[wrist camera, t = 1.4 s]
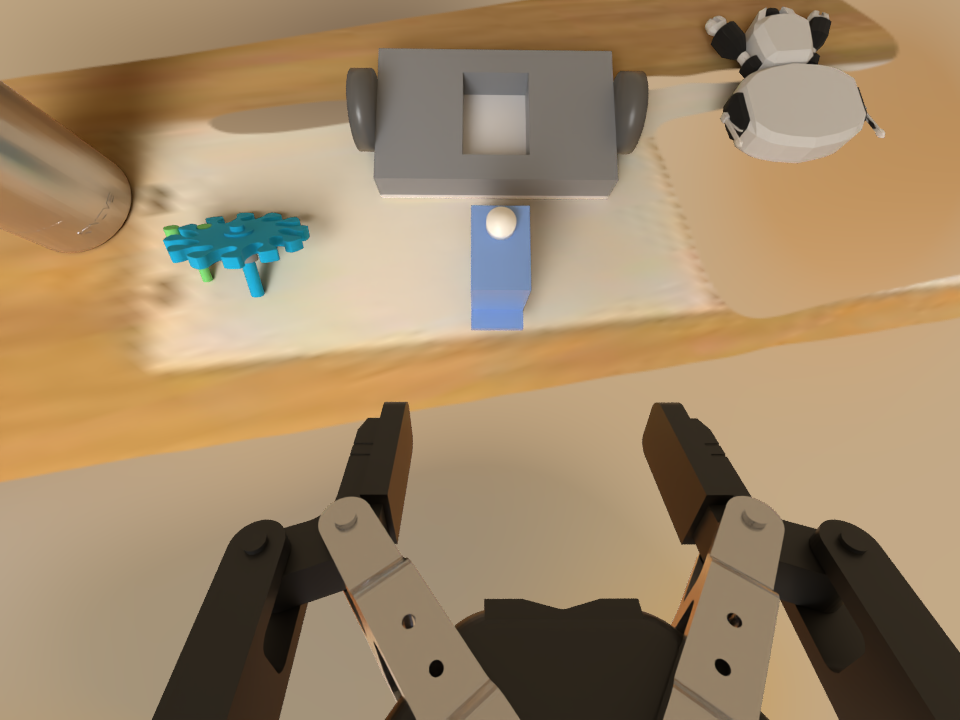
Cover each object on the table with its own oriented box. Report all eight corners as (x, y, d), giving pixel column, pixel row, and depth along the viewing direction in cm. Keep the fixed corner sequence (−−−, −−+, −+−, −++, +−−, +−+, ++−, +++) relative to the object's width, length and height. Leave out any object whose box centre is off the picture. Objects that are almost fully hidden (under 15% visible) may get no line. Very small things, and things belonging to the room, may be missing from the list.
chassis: (624, 199, 38) (652, 157, 32) (363, 197, 38) (342, 154, 32) (618, 79, 40) (643, 18, 34) (368, 76, 39) (349, 14, 33)
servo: (519, 336, 36) (533, 308, 27) (471, 336, 36) (470, 308, 27) (517, 235, 37) (530, 178, 29) (472, 235, 37) (471, 178, 29)
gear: (329, 211, 36) (254, 256, 28) (340, 276, 39) (277, 333, 31) (212, 199, 37) (110, 239, 29) (233, 263, 41) (146, 313, 33)
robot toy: (683, 46, 42) (715, 181, 38) (708, -3, 37) (746, 145, 34) (806, 39, 42) (848, 172, 39) (845, -11, 37) (896, 135, 34)
